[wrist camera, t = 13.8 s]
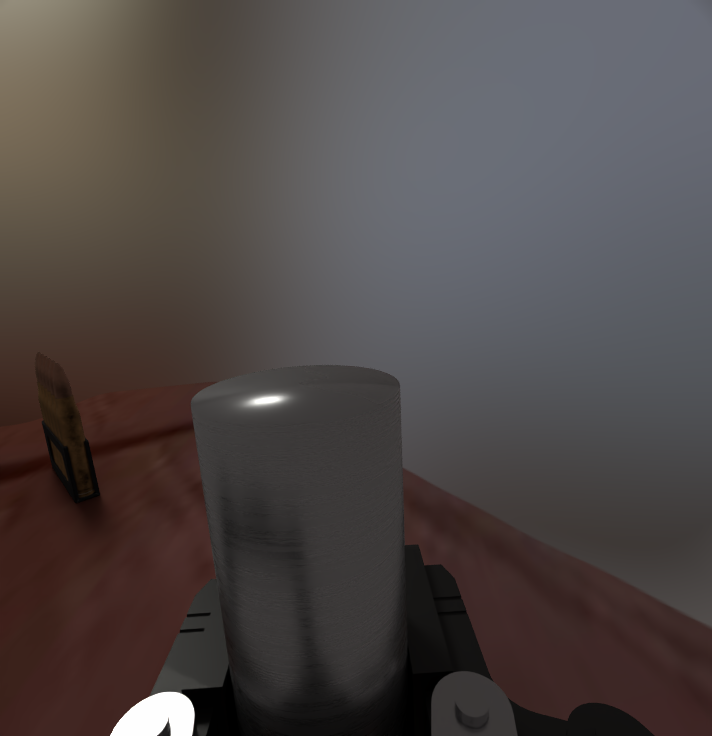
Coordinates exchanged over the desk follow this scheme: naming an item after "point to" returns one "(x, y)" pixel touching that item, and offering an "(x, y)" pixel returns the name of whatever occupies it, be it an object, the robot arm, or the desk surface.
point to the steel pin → (309, 547)
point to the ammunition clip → (64, 431)
